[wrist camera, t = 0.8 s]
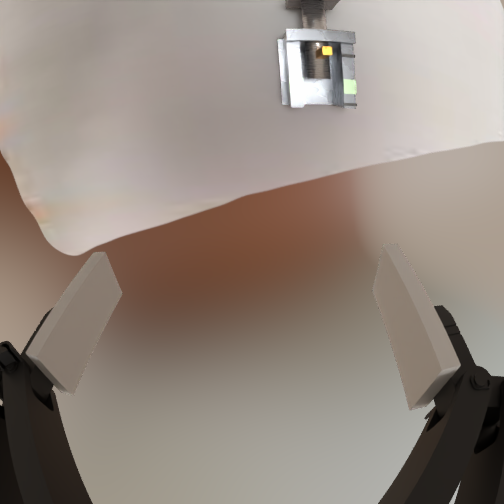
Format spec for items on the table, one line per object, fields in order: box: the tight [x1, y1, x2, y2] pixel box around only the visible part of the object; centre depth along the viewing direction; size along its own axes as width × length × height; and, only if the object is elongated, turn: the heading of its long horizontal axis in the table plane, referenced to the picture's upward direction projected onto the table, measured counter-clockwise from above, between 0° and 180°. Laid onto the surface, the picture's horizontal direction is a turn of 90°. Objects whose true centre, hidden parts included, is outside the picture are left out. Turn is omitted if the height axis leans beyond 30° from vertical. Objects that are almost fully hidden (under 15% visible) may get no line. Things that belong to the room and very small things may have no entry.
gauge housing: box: [277, 29, 357, 109], centre depth 24 cm, size 8×8×7 cm
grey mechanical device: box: [285, 0, 340, 79], centre depth 20 cm, size 10×5×8 cm, turn 5°
